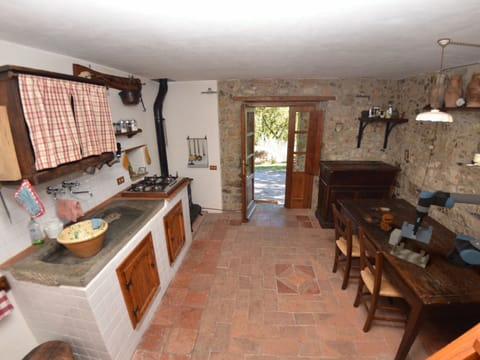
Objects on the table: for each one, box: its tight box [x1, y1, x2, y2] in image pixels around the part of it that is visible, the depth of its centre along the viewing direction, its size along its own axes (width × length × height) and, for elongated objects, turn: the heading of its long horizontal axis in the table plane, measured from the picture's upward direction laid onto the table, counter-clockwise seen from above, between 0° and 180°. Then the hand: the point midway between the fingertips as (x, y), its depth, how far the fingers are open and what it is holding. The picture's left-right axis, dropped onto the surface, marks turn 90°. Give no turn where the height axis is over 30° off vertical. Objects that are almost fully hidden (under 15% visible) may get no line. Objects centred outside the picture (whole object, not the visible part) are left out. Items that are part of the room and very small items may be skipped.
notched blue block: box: [400, 220, 434, 245], centre depth 171 cm, size 18×7×13 cm, turn 49°
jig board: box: [389, 241, 430, 269], centre depth 177 cm, size 23×16×6 cm
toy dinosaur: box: [379, 213, 394, 232], centre depth 216 cm, size 11×11×18 cm
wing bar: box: [388, 228, 403, 246], centre depth 197 cm, size 6×14×10 cm, turn 131°
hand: (414, 236), depth 173 cm, fingers closed on notched blue block, 7 cm apart
